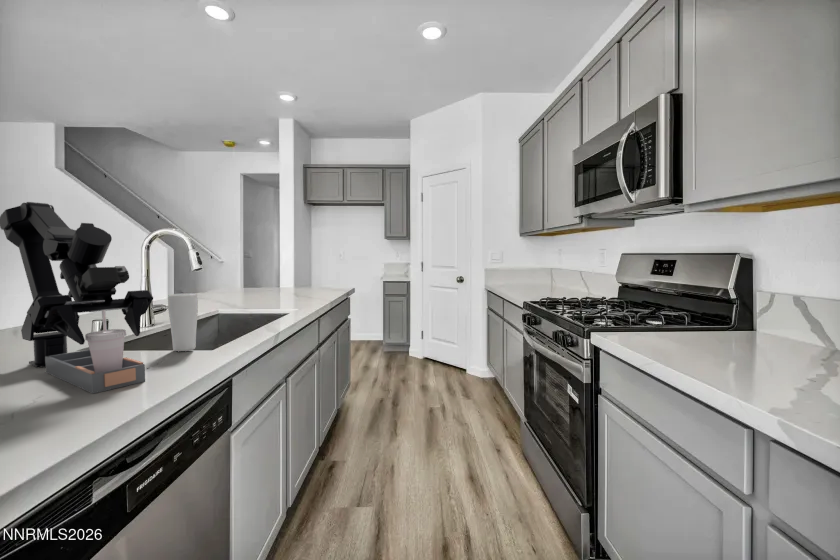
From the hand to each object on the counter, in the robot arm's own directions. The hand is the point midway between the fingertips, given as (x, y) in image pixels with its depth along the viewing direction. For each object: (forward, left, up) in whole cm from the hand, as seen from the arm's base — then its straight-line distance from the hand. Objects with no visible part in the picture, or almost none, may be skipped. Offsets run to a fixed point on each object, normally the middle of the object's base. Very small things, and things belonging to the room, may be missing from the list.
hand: (112, 338), depth 78 cm
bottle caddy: (-9, 0, -9) cm, 13 cm away
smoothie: (-2, 0, -9) cm, 9 cm away
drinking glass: (-18, +23, -9) cm, 31 cm away
